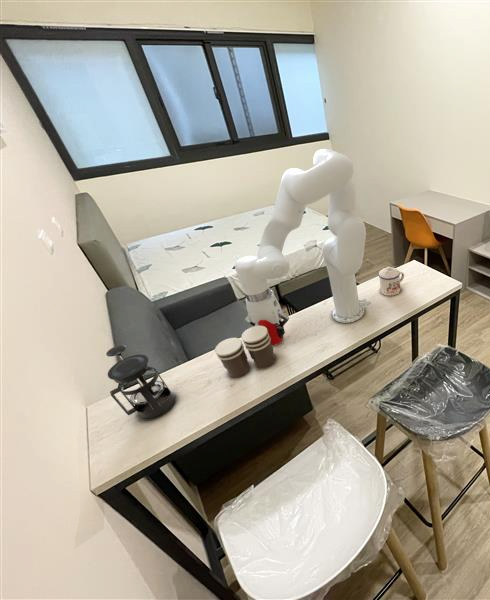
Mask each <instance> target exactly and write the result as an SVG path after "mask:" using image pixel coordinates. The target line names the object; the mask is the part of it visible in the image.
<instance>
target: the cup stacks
mask: <svg viewBox="0 0 490 600" xmlns="http://www.w3.org/2000/svg"><path fill="white" fill-rule="evenodd" d="M270 341H271V339H270V336H269V333H268V331H267V328H266V327H264V326H251V327H249V328H247V329H246V330H244V331H243V333H242V334H241V339H240V338H239V337H231V338H230V337H229V338H225V339H223V340H222V341H220V342H219V343H218V344H216V346H215V347H214V353H215V354H216V356H217V358H218V359H219V360H220V361H221V364H222V365H223V368H224V369H226V371H227V373H228V374H229V376H230V377H231V378H233V379H235V378H241V377H244V376H245V375H246V374H248V373H249V372H250V369H251V365H250V363H249V361H248V356H247V353H246V350H247V351H248V354H249V356H250V358H251V359H252V360H253V362H254V365H255V366H256V368H258V369H267V368H270V367H271V366H272V365H274V363H275V362H276V356H275V353H274V346H272V344H271V342H270ZM245 349H246V350H245Z"/></svg>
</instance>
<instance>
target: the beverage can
mask: <svg viewBox="0 0 490 600" xmlns="http://www.w3.org/2000/svg"><path fill="white" fill-rule="evenodd" d="M258 324H259V326H264V327H266V328H267V331H268V333H269V336H270V339H271V341H270V342H271V344H272V347H274V346H277V345H280V344H281V343H282V342H283V341H284V336H283V337H282V338H279V335H278V332H277V329H278V328H277V327H276V326H275V324H272V323H271V322H269V321H267V320H260V321H259V322H258Z"/></svg>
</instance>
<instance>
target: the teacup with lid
mask: <svg viewBox="0 0 490 600" xmlns="http://www.w3.org/2000/svg"><path fill="white" fill-rule="evenodd" d="M400 275H401V277H400ZM378 277H379V286H380V287H379V289H380V293H381V294H382V295H383V296H389V297H391V296H392V297H393V296H396V295H397V294H399V293H400V292H401V283H402V282H403V281H404V278H405V273H404V272H403V271H400V270H399V269H398V268H396V267H392V266H386V267H385V268H382V269H380V270H379V271H378Z"/></svg>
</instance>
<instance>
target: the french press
mask: <svg viewBox="0 0 490 600" xmlns="http://www.w3.org/2000/svg"><path fill="white" fill-rule="evenodd" d="M126 348H127V346H126V345H124V344H119V345H116V346H113V347H111V348H110V349H109V350H107V351H106V353H105V355H106V356H107V357H109V358H111V357H116V356H117V357H119V358H120V360H119V361H117V362H116V363H115V364H113V365H112V366H111V367H110V368H109V369H108V371H107V378H108V379H110V380H113V381H114V382H115V383H117V387H116V388H114V389H112V390H110V391H109V394H110V396H111V397H112V399H113V400H114V401H115V402H116V404H117V405H118V406H119V407H120V408H121V409H122V410H123V411H124V413H125V414H126V415H127V416H131V415H132V414H135V413H136V412H137V414H138V416H139V418H140V419H142V420H144V421H152V420H155V419H158V418H161V417H162V416H164V415H166V414H167V413H168V412H169V411H171V410H172V408H173V407H174V406H175V404H176V402H177V397H176V395H175V394H174V393H173V392H172V391H171V389H170V388H169V386H168V385H167V383H166V382H165V381H164V380H163V378H162V376H161V374H159V372H158V371H157V369H156V368H155V367H152V366H148V362H149V358H148V356H147V355H146V354H134V355H130V356H128V357H125V358H124V357H123V356H122V355H123V354H122V353H123V352H124V351H126ZM147 371H149V372H150V371H152V372H155V374H154V376H153V377H152V378H151V379H150V380H149V381H148V382H147V380H146V379H145V377H144V375H145V374H146V372H147ZM158 379H160V380H158ZM135 381H136V382H137V384H138V385H139V387H138V388H136V389H132V390H126V391H125V390H122V388H123V386H124V385H125V384H127V383H131V382H135ZM118 393H121V394H122V395H123V397H124V398H125V399H126V401H128V403H129V404H130V405H131V406H132V408H130V409H127V408H126V407H125V406H124V404H123V403H122V402H121V401H120V399H118V398H117V396H116V394H118ZM128 396H129V397H128ZM162 397H167V398H166V400H164V401H163V403H162V404H160V403H159V402H158V400H157V399H159V398H162ZM148 405H149V406H150V407H151V408H152V409H150V410H147V411H146V410H145V409H146V408H147V406H148Z"/></svg>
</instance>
